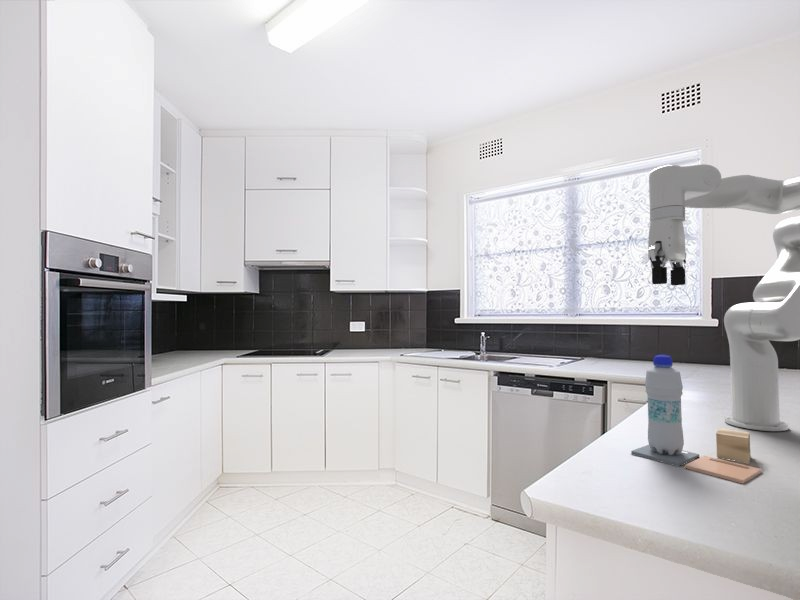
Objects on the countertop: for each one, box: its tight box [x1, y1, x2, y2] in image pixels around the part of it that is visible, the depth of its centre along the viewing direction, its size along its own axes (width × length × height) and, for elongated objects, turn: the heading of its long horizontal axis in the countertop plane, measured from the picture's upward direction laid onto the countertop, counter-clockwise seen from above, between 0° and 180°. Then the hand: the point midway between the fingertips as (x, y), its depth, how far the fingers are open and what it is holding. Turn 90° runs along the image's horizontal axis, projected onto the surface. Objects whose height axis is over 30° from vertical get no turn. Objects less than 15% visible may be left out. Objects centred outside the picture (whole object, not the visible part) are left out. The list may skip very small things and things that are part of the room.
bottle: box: [644, 354, 685, 456], centre depth 88 cm, size 7×7×20 cm
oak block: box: [715, 428, 752, 465], centre depth 86 cm, size 5×5×5 cm
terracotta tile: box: [684, 455, 763, 484], centre depth 79 cm, size 9×9×1 cm
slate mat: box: [630, 444, 700, 467], centre depth 88 cm, size 9×9×1 cm
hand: (669, 284), depth 107 cm, fingers open, 9 cm apart
